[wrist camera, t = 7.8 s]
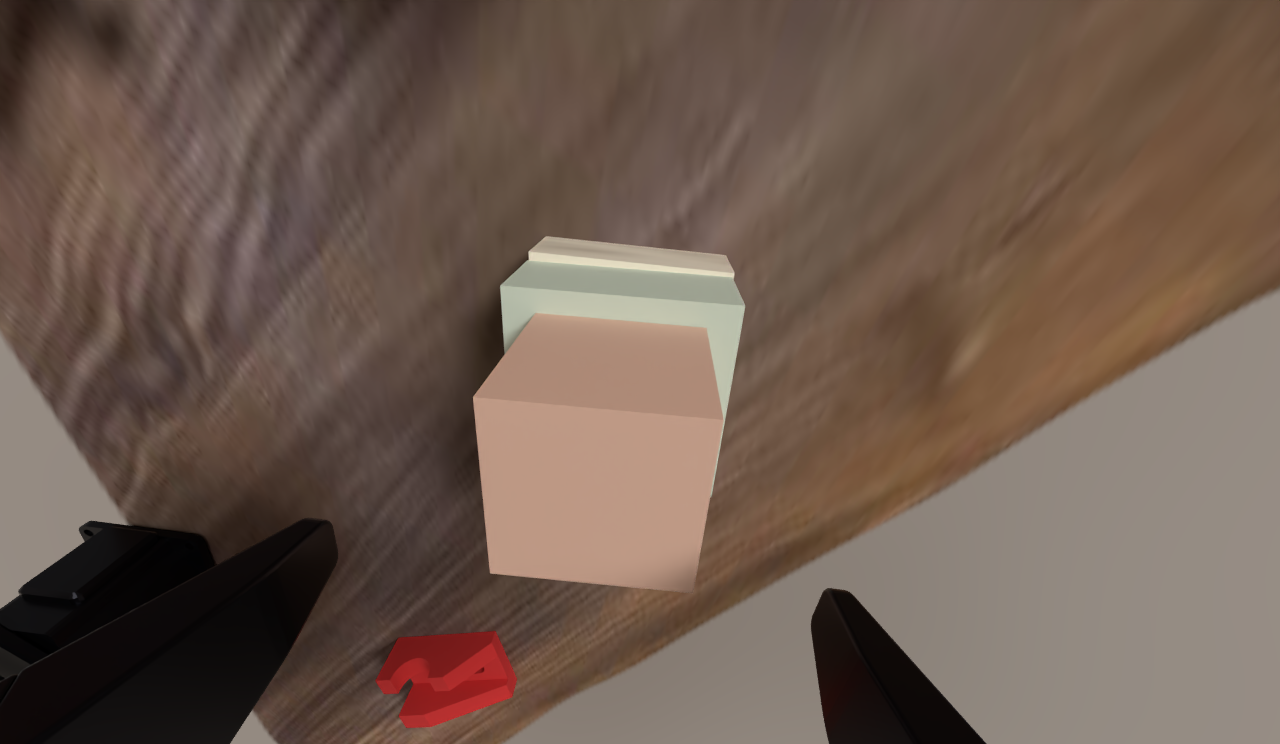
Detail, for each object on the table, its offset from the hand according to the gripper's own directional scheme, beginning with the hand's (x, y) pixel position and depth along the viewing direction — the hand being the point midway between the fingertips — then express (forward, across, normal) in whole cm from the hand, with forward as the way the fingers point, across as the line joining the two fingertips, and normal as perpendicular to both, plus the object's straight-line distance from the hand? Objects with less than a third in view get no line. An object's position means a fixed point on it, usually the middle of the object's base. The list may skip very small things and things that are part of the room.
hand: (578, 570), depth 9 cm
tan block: (+7, 0, 0) cm, 7 cm away
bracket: (+13, +8, +24) cm, 29 cm away
